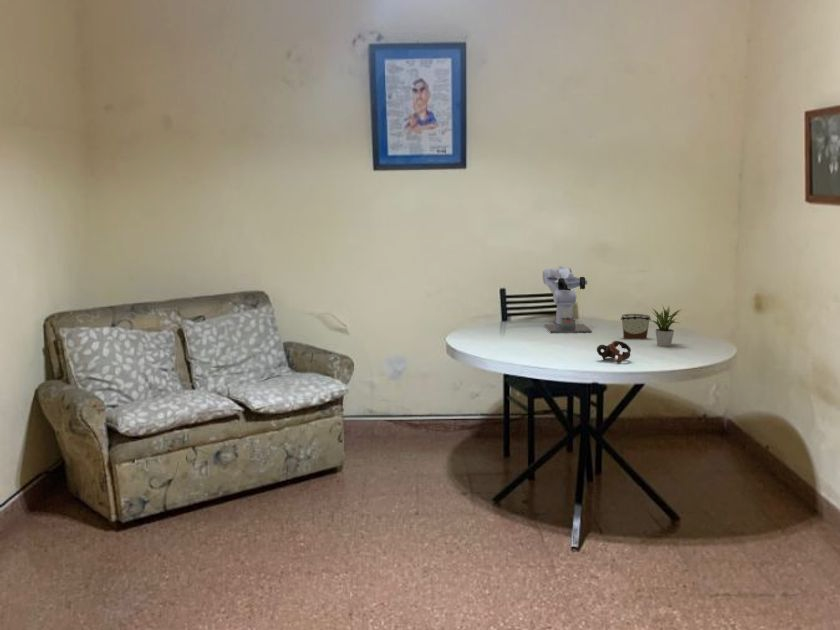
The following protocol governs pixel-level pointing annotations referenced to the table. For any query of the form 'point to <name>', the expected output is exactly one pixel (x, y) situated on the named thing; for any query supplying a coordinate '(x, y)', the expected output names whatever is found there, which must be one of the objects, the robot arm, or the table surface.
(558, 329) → the stand base
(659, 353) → the table surface
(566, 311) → the lift column
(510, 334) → the table surface
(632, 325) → the food container
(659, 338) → the house plant
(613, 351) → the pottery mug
